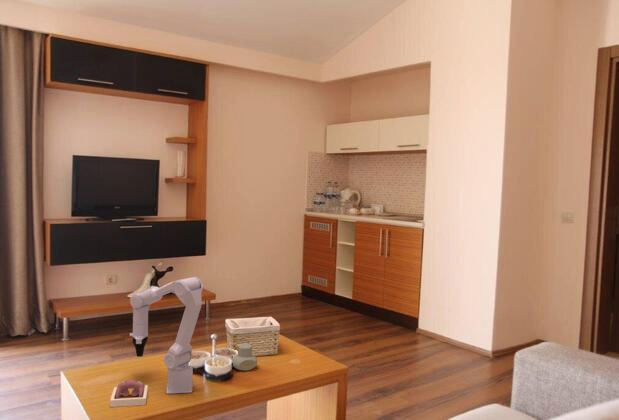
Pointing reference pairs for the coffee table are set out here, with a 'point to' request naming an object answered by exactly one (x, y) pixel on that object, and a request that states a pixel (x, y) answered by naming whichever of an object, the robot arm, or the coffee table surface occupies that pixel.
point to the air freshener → (244, 358)
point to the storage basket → (254, 334)
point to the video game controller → (130, 384)
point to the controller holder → (128, 399)
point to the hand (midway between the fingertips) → (139, 356)
